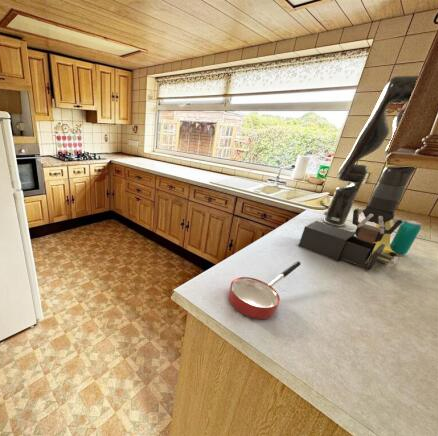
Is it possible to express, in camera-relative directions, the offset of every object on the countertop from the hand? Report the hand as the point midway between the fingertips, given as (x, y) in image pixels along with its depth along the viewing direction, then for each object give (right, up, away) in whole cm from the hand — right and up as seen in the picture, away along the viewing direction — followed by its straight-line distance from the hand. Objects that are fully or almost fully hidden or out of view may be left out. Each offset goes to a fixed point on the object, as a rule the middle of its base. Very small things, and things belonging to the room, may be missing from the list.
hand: (366, 238), depth 90 cm
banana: (+13, -9, +9) cm, 18 cm away
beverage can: (+25, -8, +13) cm, 29 cm away
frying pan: (-47, -15, -15) cm, 52 cm away
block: (0, 0, 0) cm, 0 cm away
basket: (0, -9, +3) cm, 10 cm away
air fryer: (-8, -6, +13) cm, 16 cm away
